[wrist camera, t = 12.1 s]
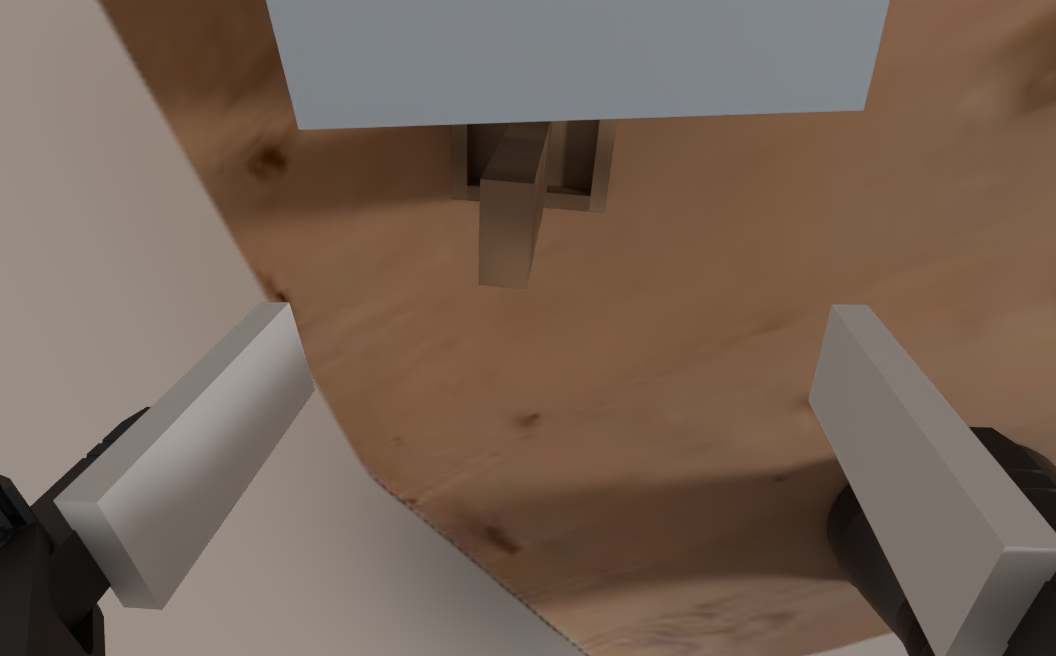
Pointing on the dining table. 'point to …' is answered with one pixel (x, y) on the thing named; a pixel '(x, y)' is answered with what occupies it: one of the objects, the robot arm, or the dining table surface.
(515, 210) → the tray
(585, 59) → the grey step stool
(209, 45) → the dining table surface
